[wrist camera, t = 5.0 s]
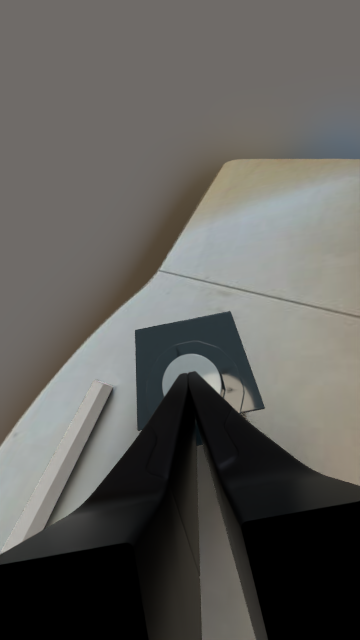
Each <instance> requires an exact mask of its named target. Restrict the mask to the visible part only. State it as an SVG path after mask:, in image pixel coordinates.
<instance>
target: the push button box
mask: <svg viewBox="0 0 360 640" xmlns="http://www.w3.org/2000/svg"><path fill="white" fill-rule="evenodd" d="M135 345H136V386H137V427H138V431H140V430H143V428H144V427H145V425H146V424H147V423H148V421H149V419H150V418H151V416H152V415H153V413H154V412H155V410H156V409H157V407H158V406H159V404H160V403H161V401H162V400H163V398H164V394H163V389H162V380H163V376H164V373H165V371H166V369H167V367H168V366H169V364H170V363H171V362H172V361H173V360H175V359H176V358H178V357H180V356H182V355H186V354H197V355H201V356H203V357H205V358H207V359H208V360H210V361H211V362H212V363H213V364H214V365H215V367H216V368H217V370H218V372H219V374H220V377H221V383H222V388H221V394H220V395H221V396H222V397H223V398H224V399H225V400H226V401H227V402H228V403H229V404H230V405H231V406H232V407H233V408H234V409H235V410H236V411H237V412H238V413H239V414H241V413H244V412H250V411H255V410H261V409H265V407H264V404H263V401H262V398H261V396H260V393H259V390H258V387H257V384H256V382H255V379H254V376H253V373H252V370H251V367H250V365H249V362H248V359H247V356H246V353H245V351H244V348H243V345H242V342H241V339H240V336H239V334H238V331H237V328H236V325H235V322H234V320H233V317H232V314H231V311H228V312H223V313H218V314H213V315H208V316H203V317H198V318H193V319H188V320H183V321H178V322H173V323H168V324H163V325H158V326H153V327H148V328H143V329H138V330H135ZM195 419H196V417H195ZM196 445H197V446H199V445H203V444H202V440H201V437H200V433H199V429H198V426H197V422H196Z"/></svg>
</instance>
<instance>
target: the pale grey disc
mask: <svg viewBox="0 0 360 640" xmlns="http://www.w3.org/2000/svg"><path fill="white" fill-rule="evenodd" d="M192 371H196V372H197V373H198V374H199V375H200V376H201V377H202V378H203V379H204V380H205V381H206V382H207V383H208V384H210V385H211V386H212V387H213V388H214V389H215V390H216V391H217V392H218V393H219V394H221V388H222V383H221V377H220V374H219V372H218V370H217V368H216V367H215V365H214V364H213V363H212V362H211V361H210V360H208V359H207V358H205V357H203V356H201V355H197V354H186V355H182V356H180V357H178V358H176V359H175V360H173V361H172V362H171V363H170V364H169V366H168V367H167V369H166V371H165V373H164V376H163V380H162V389H163V394H164V397H165V395H166V394H167V392H168V391H169V389H170V388H171V386H172V385H173V383H174V382H175V380H176V379H177V377H178V376H179V374H182V373H188V372H192Z"/></svg>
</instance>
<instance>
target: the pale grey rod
mask: <svg viewBox="0 0 360 640" xmlns="http://www.w3.org/2000/svg"><path fill="white" fill-rule="evenodd" d="M112 388H113V386H112V385H109V384H107V383H104V382H102V381H99V380H96V379H95V380H94V381H93V383H92V385H91V387H90V389H89V391H88V392H87V394H86V396H85V398H84V400H83V402H82V403H81V405H80V407H79V409H78V411H77V413H76V414H75V416H74V418H73V420H72V422H71V424H70V425H69V427H68V429H67V431H66V433H65V435H64V437H63V438H62V440H61V442H60V444H59V446H58V448H57V449H56V451H55V453H54V455H53V457H52V459H51V460H50V462H49V464H48V466H47V468H46V470H45V471H44V473H43V475H42V477H41V479H40V481H39V483H38V484H37V486H36V488H35V490H34V492H33V494H32V495H31V497H30V499H29V501H28V503H27V505H26V506H25V508H24V510H23V512H22V514H21V516H20V517H19V519H18V521H17V523H16V525H15V527H14V529H13V530H12V532H11V534H10V536H9V538H8V540H7V541H6V543H5V545H4V547H3V549H2V551H1V552H2V553H4V552H6V551H7V550H9V549H11V548H13V547H14V546H16V545H18V544H19V543H21V542H23V541H25V540H26V539H28V538H30V537H32V536H33V535H35V534H37V533H39V532H40V531H42V530H43V529H44V527H45V525H46V523H47V521H48V519H49V517H50V515H51V512H52V510H53V508H54V506H55V504H56V502H57V500H58V498H59V496H60V494H61V492H62V490H63V488H64V486H65V484H66V482H67V480H68V478H69V476H70V474H71V472H72V470H73V468H74V466H75V463H76V461H77V459H78V457H79V455H80V453H81V451H82V449H83V447H84V445H85V443H86V441H87V439H88V437H89V435H90V433H91V431H92V429H93V427H94V425H95V423H96V421H97V419H98V417H99V415H100V412H101V410H102V408H103V406H104V404H105V402H106V400H107V398H108V396H109V394H110V392H111V390H112Z"/></svg>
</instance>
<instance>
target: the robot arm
mask: <svg viewBox="0 0 360 640" xmlns="http://www.w3.org/2000/svg"><path fill="white" fill-rule="evenodd" d="M195 417H196V419H195ZM196 422H197V426H198V429H199V433H200V437H201V440H202V444H203V448H204V451H205V455H206V459H207V462H208V466H209V469H210V473H211V477H212V480H213V484H214V488H215V491H216V495H217V499H218V502H219V506H220V510H221V513H222V517H223V521H224V524H225V528H226V532H227V535H228V539H229V542H230V546H231V550H232V553H233V557H234V561H235V564H236V568H237V571H238V575H239V579H240V583H241V586H242V590H243V594H244V597H245V601H246V605H247V608H248V612H249V616H250V619H251V623H252V626H253V630H254V634H255V637H256V640H360V486H358V485H355V484H352V483H348V482H345V481H342V480H338V479H335V478H332V477H328V476H325V475H323V474H320V473H318V472H316V471H314V470H312V469H311V468H309V467H307V466H306V465H304V464H303V463H301V462H300V461H298V460H297V459H296V458H294V457H293V456H292V455H290V454H289V453H288V452H286V451H285V450H284V449H283V448H281V447H280V446H279V445H277V444H276V443H275V442H273V441H272V440H271V439H270V438H268V437H267V436H266V435H264V434H263V433H262V432H260V431H259V430H258V429H257V428H255V427H254V426H253V425H252V424H251V423H249V422H248V421H247V420H246V419H245V418H244V417H243V416H242V415H240V414H239V413H238V412H237V411H236V410H235V409H234V408H233V407H232V406H231V405H230V404H229V403H228V402H227V401H226V400H225V399H224V398H223V397H222V396H221V395H220V394H219V393H218V392H217V391H216V390H215V389H214V388H213V387H212V386H211V385H210V384H208V383H207V382H206V381H205V380H204V379H203V378H202V377H201V376H200V375H199V374H198V373H197V372H196V371H192V372H188V373H182V374H179V376H178V377H177V379H176V380H175V382H174V383H173V385H172V386H171V388H170V389H169V391H168V392H167V394H166V395H165V397H164V398H163V400H162V401H161V403H160V404H159V406H158V407H157V409H156V410H155V412H154V413H153V415H152V416H151V418H150V419H149V421H148V423H147V424H146V425H145V427H144V428H143V430H142V431H141V432H140V434H139V435H138V437H137V438H136V440H135V441H134V442H133V444H132V445H131V446H130V447H129V449H128V450H127V451H126V453H125V454H124V455H123V456H122V458H121V459H120V460H119V461H118V463H117V464H116V465H115V466H114V468H113V469H112V470H111V471H110V473H109V474H108V475H107V476H106V478H105V479H104V480H103V481H102V483H101V484H100V485H99V486H98V487H97V489H96V490H95V491H94V492H93V493H92V495H91V496H90V497H89V498H88V499H87V500H86V501H85V502H84V503H83V504H82V505H81V506H80V507H79V508H77V509H76V510H75V511H74V512H72V513H71V514H69V515H68V516H66V517H65V518H63V519H61V520H59V521H58V522H56V523H54V524H52V525H51V526H49V527H47V528H45V529H44V530H42V531H40V532H39V533H37V534H35V535H33V536H32V537H30V538H28V539H26V540H25V541H23V542H21V543H19V544H18V545H16V546H14V547H13V548H11V549H9V550H7V551H6V552H4V553H2V554H0V640H202V622H201V586H200V553H199V517H198V481H197V445H196Z"/></svg>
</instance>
